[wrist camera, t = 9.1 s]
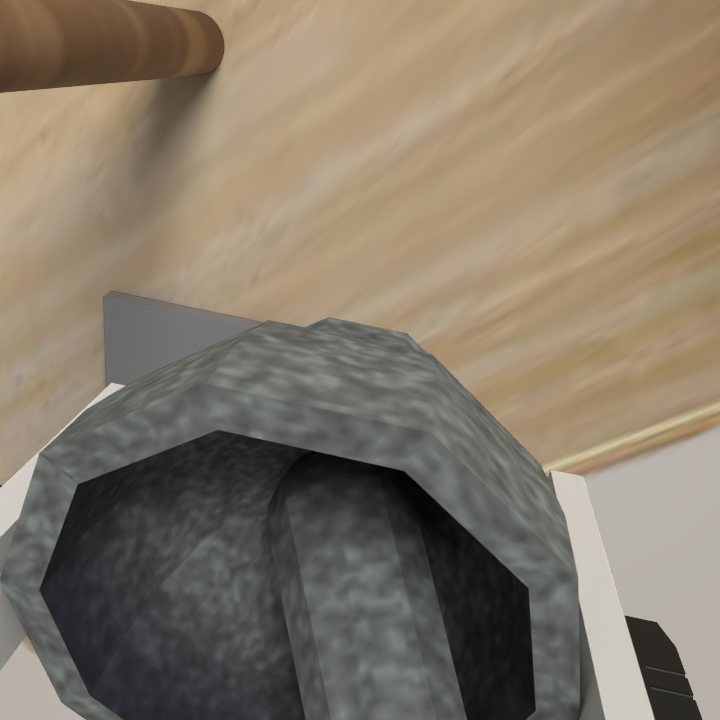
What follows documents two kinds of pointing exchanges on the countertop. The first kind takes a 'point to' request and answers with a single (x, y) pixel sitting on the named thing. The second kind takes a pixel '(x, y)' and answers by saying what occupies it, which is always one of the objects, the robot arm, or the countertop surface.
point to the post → (102, 43)
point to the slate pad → (158, 334)
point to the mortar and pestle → (297, 543)
